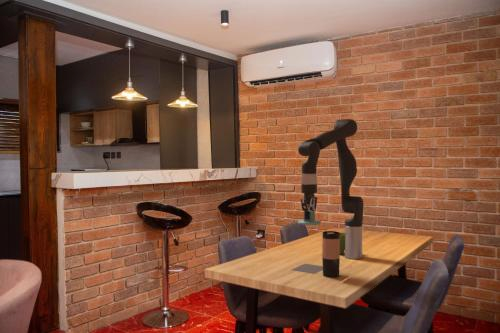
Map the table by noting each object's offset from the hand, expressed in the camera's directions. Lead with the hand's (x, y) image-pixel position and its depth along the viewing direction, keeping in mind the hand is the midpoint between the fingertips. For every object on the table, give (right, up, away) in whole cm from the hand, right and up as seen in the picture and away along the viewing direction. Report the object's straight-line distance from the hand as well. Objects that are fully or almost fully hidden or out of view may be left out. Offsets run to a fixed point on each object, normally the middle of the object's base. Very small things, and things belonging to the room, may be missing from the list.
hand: (309, 218), depth 196 cm
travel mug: (+8, -25, -12) cm, 29 cm away
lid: (0, -2, 0) cm, 2 cm away
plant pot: (+21, -25, +36) cm, 49 cm away
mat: (0, -24, 0) cm, 24 cm away
